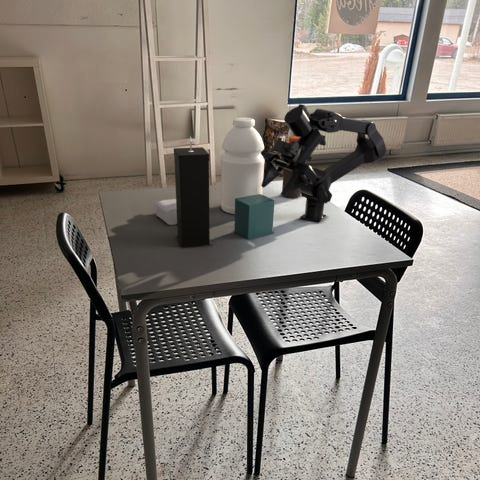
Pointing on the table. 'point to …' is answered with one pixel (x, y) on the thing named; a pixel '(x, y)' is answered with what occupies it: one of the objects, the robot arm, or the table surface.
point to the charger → (167, 211)
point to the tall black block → (192, 195)
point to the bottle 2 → (288, 174)
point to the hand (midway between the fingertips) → (271, 190)
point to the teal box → (254, 216)
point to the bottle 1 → (241, 163)
